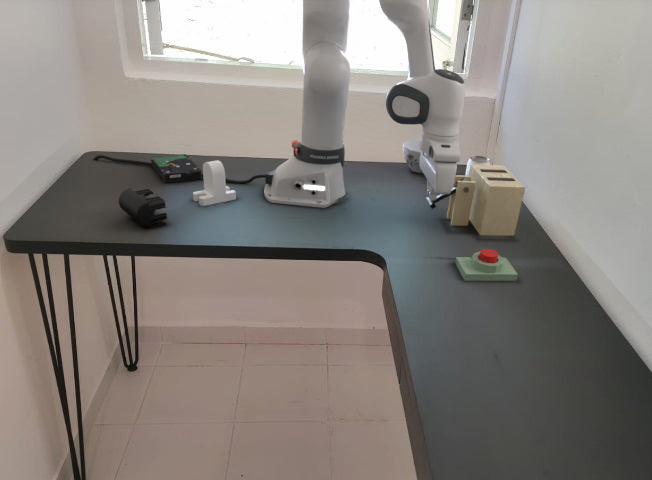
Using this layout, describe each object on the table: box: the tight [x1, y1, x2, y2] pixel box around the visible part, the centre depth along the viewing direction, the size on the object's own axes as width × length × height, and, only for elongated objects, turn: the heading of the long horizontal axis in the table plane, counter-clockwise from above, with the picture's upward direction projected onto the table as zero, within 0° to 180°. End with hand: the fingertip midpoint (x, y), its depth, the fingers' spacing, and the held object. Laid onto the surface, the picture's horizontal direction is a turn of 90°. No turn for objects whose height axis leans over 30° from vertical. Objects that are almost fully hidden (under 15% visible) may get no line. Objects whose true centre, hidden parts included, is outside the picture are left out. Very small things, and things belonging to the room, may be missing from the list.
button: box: [479, 248, 499, 263], centre depth 132 cm, size 4×4×2 cm
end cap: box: [118, 187, 168, 229], centre depth 138 cm, size 10×7×7 cm
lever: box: [425, 178, 468, 210], centre depth 149 cm, size 11×5×2 cm
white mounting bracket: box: [192, 159, 237, 207], centre depth 153 cm, size 5×10×10 cm, turn 131°
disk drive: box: [150, 154, 203, 183], centre depth 168 cm, size 10×3×15 cm
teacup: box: [402, 139, 424, 174], centre depth 187 cm, size 15×12×8 cm
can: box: [464, 155, 491, 176], centre depth 169 cm, size 6×6×12 cm
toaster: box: [469, 164, 526, 237], centre depth 152 cm, size 9×16×14 cm, turn 9°
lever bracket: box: [446, 174, 476, 227], centre depth 151 cm, size 6×8×13 cm
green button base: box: [454, 250, 519, 282], centre depth 133 cm, size 12×8×4 cm, turn 99°
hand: (431, 198), depth 149 cm, fingers closed, pressing on lever
